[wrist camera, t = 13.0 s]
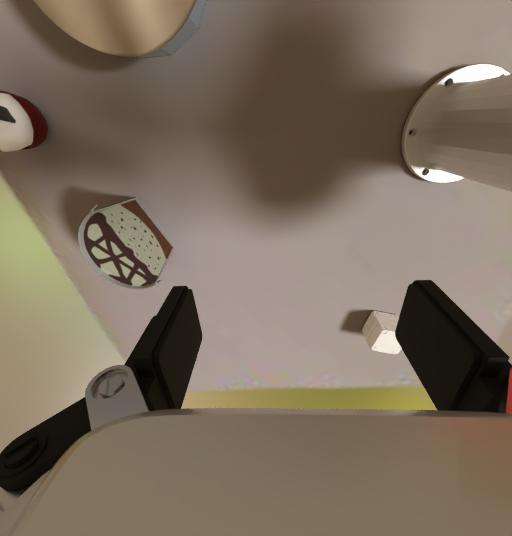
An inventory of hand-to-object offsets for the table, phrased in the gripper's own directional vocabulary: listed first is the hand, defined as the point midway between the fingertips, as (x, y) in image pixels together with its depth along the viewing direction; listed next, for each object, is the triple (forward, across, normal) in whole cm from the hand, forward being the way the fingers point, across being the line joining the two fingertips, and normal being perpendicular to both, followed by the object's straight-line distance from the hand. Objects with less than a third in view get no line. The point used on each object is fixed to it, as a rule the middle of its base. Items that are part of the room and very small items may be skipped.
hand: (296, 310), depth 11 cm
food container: (+28, +22, +7) cm, 37 cm away
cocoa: (+29, +32, -9) cm, 44 cm away
